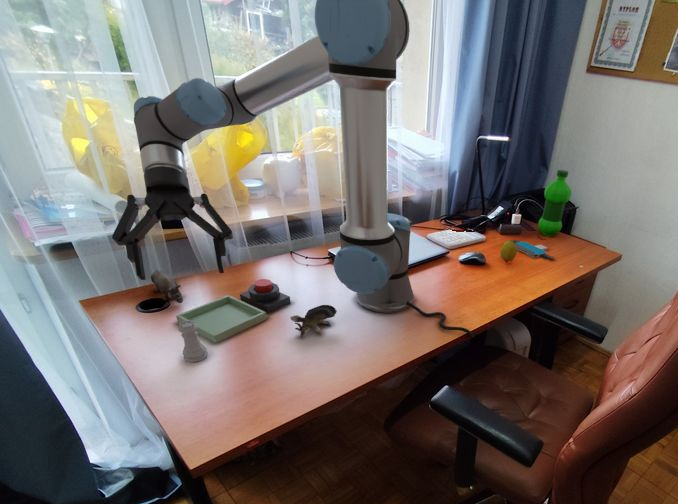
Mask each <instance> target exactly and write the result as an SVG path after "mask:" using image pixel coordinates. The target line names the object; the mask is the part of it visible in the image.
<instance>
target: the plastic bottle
mask: <svg viewBox="0 0 678 504" xmlns="http://www.w3.org/2000/svg"><path fill="white" fill-rule="evenodd" d="M555 176H556V179H555V180H554V181H552V182H550V183H549V184H548V185H546V187H545V188H544V194H543V196H544V199H545V202H544V207H543V212H542V215H541V217H540V218H539V220H538V224H537V225H538V229H539V231H540V232H541V234H542V235H544V236H546V237H553V236H555V235H556V234H558V233H560V231H561V230H562V228H563V222H562V218H563V214H564V211H565V207H566V203H568V202H569V201H570V199H571V197H572V190H571V188H570V186H569V184H568V183H567V182H566V179H567V178H568V176H569V171H568V170H564V169H557V171H556V175H555Z"/></svg>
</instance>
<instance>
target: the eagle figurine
mask: <svg viewBox="0 0 678 504" xmlns="http://www.w3.org/2000/svg"><path fill="white" fill-rule="evenodd" d="M337 311H338V310H337V309H336V308H335V307H334V306H332V305H329V304H321V305H318V306H316V307H315V306H314V307H313V308H310V309H308V310H307V312H306V313H305V316H304V317H302V316H300V315H298V314H297V315H293V316H290V320H291V321H292V322H294V325H297V327H295V328H294V329H295V330H297V331H299V332H300V338H302V337H303V336H305V334H306V332H307V330H310V329H311V330H314V331H316V332H317V333H319V334H320V335H322V334H323V333H322V329H321V328H320V327H319V326H318V324H319V325H321V324H323V325H331V323H330V321H328V320H327V319H331V318H335V316H336V314H337Z"/></svg>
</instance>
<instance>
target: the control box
mask: <svg viewBox="0 0 678 504" xmlns="http://www.w3.org/2000/svg"><path fill="white" fill-rule="evenodd" d="M247 289H248V290H246V291H244V292H241V293H239V298H240V300H241V301H243V302H245V303H247V304H249V305H251V306H254V307H256V308H258V309H260V310H262V311H264V312H266V314H271V313H273V312H275V311H277V310H279V309H282V308H284V307H286V306H288V305H291V303H292V302H291V296H289V295H288V294H285V293H282V292H281V291H280V287H279V284H277V283H274V282H272V290H271V291H269V292H263V293H262V292H256V291H255V286H254V283H253V284H251V285H249V287H248V288H247Z"/></svg>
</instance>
